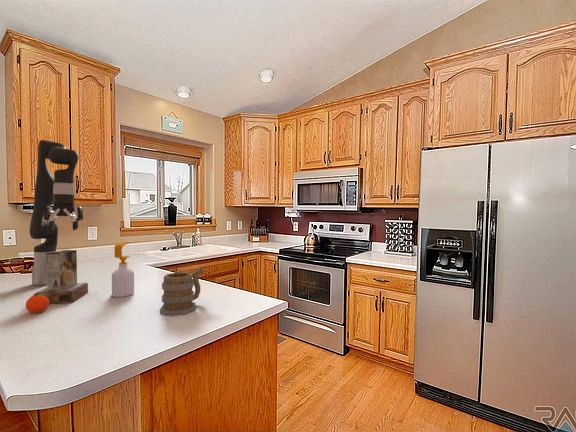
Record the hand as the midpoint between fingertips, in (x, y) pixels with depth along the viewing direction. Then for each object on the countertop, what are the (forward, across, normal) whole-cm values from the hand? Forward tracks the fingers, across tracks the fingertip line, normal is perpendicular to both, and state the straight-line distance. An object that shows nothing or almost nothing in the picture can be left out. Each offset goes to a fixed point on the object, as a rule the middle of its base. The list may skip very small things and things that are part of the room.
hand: (63, 229), depth 131 cm
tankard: (+30, +55, -26) cm, 68 cm away
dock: (+30, 0, -2) cm, 30 cm away
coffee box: (+26, 0, -2) cm, 26 cm away
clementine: (+30, 0, -20) cm, 36 cm away
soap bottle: (+30, +24, 0) cm, 39 cm away
